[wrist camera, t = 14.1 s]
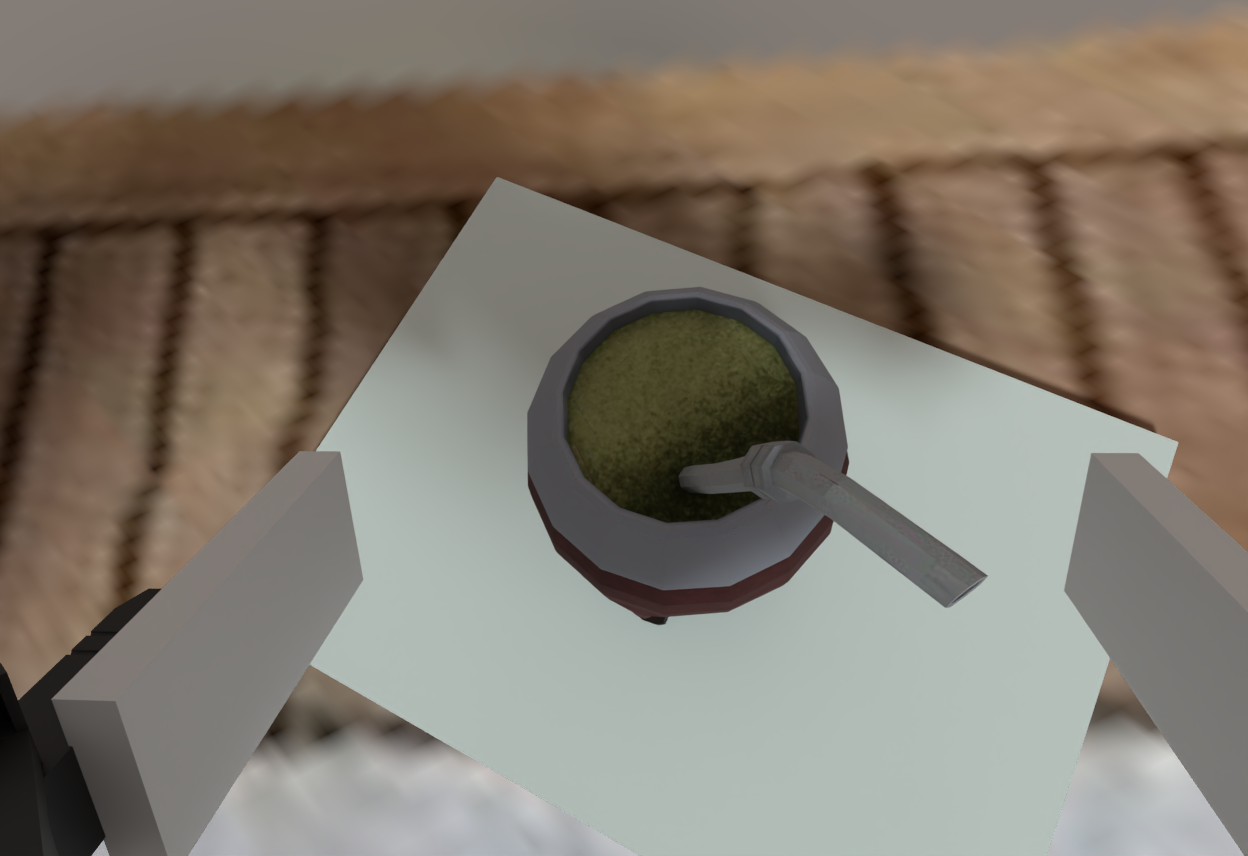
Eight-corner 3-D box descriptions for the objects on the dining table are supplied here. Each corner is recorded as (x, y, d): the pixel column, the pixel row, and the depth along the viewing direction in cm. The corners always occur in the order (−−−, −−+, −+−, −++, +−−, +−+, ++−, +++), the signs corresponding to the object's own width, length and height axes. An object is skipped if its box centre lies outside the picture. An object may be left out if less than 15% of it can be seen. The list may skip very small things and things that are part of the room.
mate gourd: (612, 372, 26) (513, -86, 12) (874, 449, 24) (1108, 26, 10) (518, 610, 24) (259, 382, 10) (802, 712, 22) (984, 616, 8)
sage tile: (226, 612, 25) (211, 608, 24) (501, 191, 30) (496, 176, 29) (973, 1043, 20) (984, 1054, 19) (1163, 452, 24) (1178, 442, 24)
